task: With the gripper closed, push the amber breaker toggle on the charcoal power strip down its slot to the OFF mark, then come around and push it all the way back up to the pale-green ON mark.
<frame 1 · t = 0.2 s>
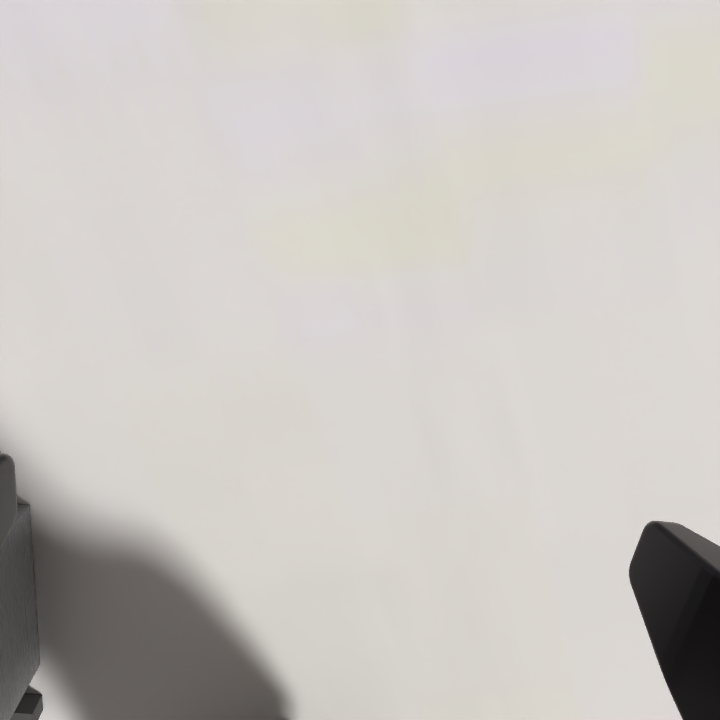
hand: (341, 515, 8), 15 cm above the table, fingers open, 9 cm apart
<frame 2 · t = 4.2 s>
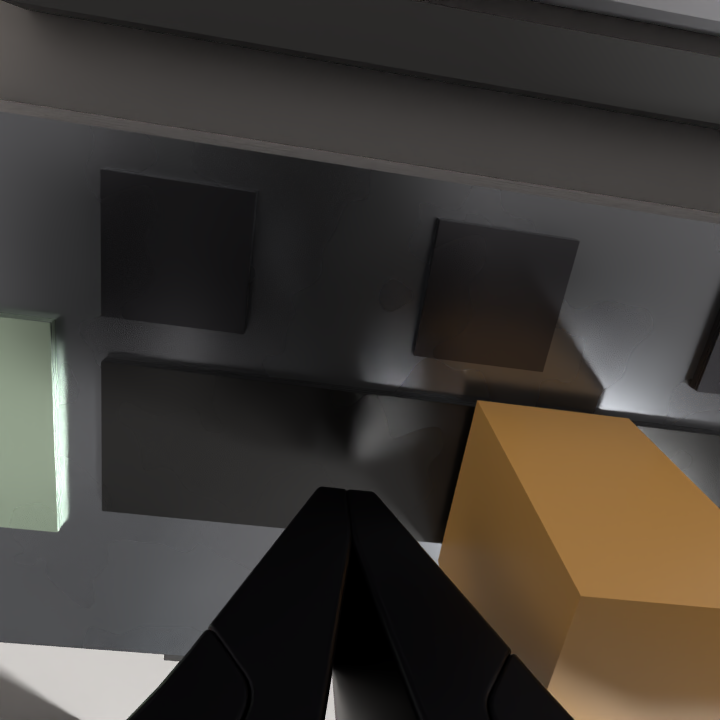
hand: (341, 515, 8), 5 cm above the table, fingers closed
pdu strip: (419, 384, 13), on the table
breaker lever: (576, 581, 8), point 6 cm above the table, slide at -1.3 cm, touching gripper
dark grey thin bar: (486, 58, 11), on the table
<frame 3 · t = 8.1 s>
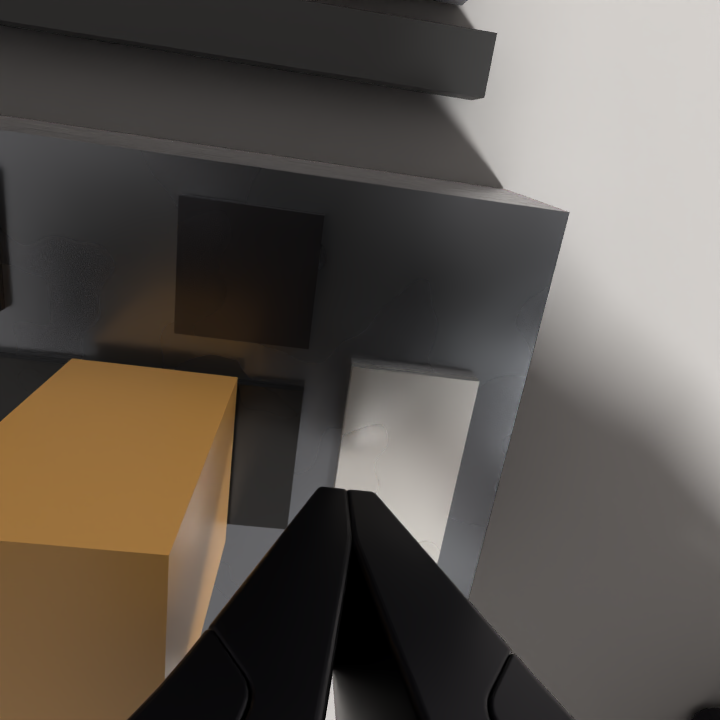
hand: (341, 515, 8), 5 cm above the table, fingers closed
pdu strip: (46, 346, 13), on the table
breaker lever: (109, 537, 8), point 6 cm above the table, slide at -3.3 cm, touching gripper
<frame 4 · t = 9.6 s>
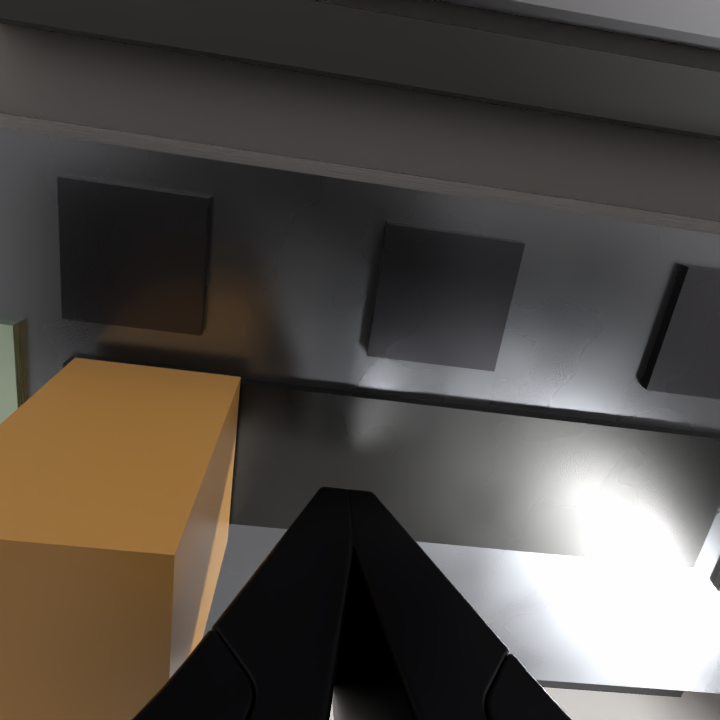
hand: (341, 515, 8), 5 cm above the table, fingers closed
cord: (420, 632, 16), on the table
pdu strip: (389, 385, 13), on the table
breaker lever: (112, 537, 8), point 6 cm above the table, slide at 4.0 cm, touching gripper
dark grey thin bar: (446, 65, 11), on the table
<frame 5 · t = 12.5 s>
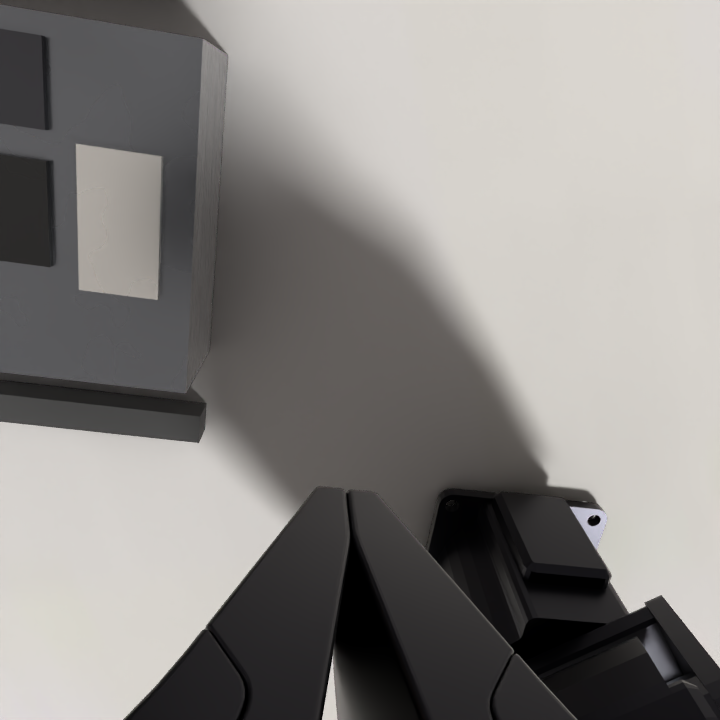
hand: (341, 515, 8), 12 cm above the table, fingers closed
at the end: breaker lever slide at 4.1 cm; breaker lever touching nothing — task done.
